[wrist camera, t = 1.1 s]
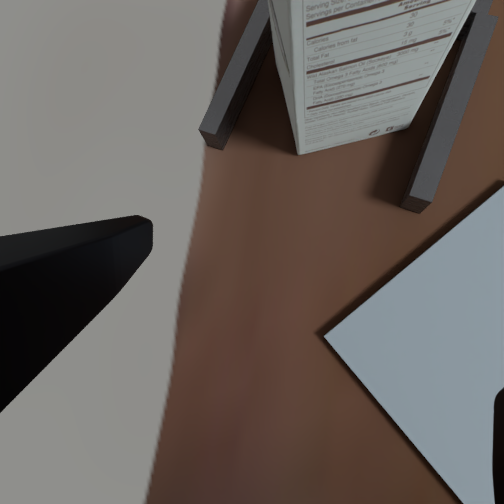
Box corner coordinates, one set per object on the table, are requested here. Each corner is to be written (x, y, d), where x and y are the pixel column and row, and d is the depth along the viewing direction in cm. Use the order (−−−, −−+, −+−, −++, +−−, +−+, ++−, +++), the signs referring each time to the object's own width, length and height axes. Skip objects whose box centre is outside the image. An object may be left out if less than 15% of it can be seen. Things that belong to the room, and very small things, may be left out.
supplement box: (274, 65, 24) (236, -208, 11) (381, 36, 23) (467, -297, 10) (294, 160, 22) (277, -41, 10) (411, 132, 21) (555, -129, 9)
